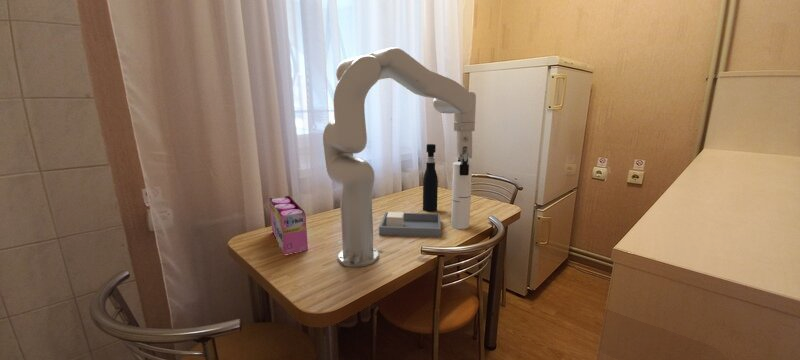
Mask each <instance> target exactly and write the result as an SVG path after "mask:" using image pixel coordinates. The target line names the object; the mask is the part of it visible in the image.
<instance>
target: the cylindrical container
mask: <svg viewBox="0 0 800 360" xmlns="http://www.w3.org/2000/svg"><path fill="white" fill-rule="evenodd" d="M460 164H461V162H458V161H455V162H453V163H452V181H451V182H452V184H451V210H450V211H451V212H450V227H452V228H454V229H457V230H467V229H469V228H470V223H471V222H470V221H471V220H470V217H471V199H472V177H473V163H472V162H469V175H460ZM468 227H469V228H468ZM466 228H467V229H466Z"/></svg>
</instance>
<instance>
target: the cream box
mask: <svg viewBox="0 0 800 360" xmlns="http://www.w3.org/2000/svg"><path fill="white" fill-rule="evenodd" d="M387 212H388V214H387V217H386V221H387V226H389V227H403V226H404V213H405V211H387Z"/></svg>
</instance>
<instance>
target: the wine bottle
mask: <svg viewBox="0 0 800 360" xmlns="http://www.w3.org/2000/svg"><path fill="white" fill-rule="evenodd" d="M436 146H437V145H436V144H433V143H427V144H426V153H427V158H426V163H425V164H426V168H425V171H424V174H423V179H422V211H423V212H427V213H432V212H438V192H439V191H438V187H439V185H438V182H439V181H438V174H437V170H436V162H435V160H436V159H435V153H436V150H437V149H436Z"/></svg>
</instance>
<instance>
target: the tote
mask: <svg viewBox="0 0 800 360" xmlns="http://www.w3.org/2000/svg"><path fill="white" fill-rule="evenodd" d="M388 212H389V211H387V212H386V211H385V213H384V214H383V217H382V219H381V222H380V224H379V227H378V234H379V236H399V237H402V236H403V237H424V238H425V237H427V238H441V237H442V235H441V234H442V231H441V230H442V228H441V227H442V226H441V225H442V224H441V213H429V212H427V213H421V212H404V226H403V227H389V226H387V221H386V217H387V214H388Z"/></svg>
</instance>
